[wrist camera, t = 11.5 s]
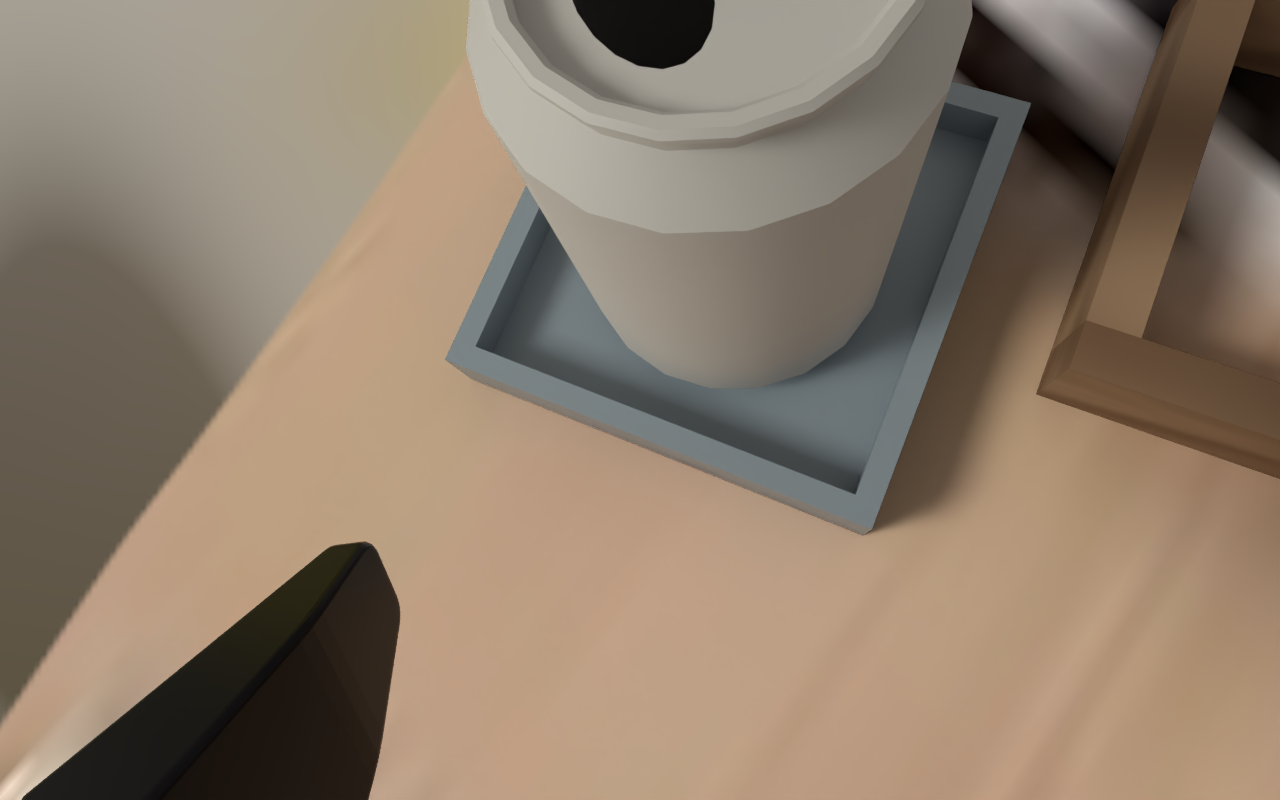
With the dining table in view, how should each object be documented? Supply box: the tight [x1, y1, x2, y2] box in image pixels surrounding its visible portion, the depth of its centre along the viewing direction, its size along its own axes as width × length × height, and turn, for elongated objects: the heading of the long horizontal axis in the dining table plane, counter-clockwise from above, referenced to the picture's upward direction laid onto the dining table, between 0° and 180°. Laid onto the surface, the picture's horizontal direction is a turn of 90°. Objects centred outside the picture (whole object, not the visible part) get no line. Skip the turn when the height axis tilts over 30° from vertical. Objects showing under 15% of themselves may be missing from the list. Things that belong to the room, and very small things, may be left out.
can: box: [466, 0, 972, 388], centre depth 17 cm, size 8×8×12 cm
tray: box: [445, 81, 1031, 535], centre depth 23 cm, size 11×11×2 cm
